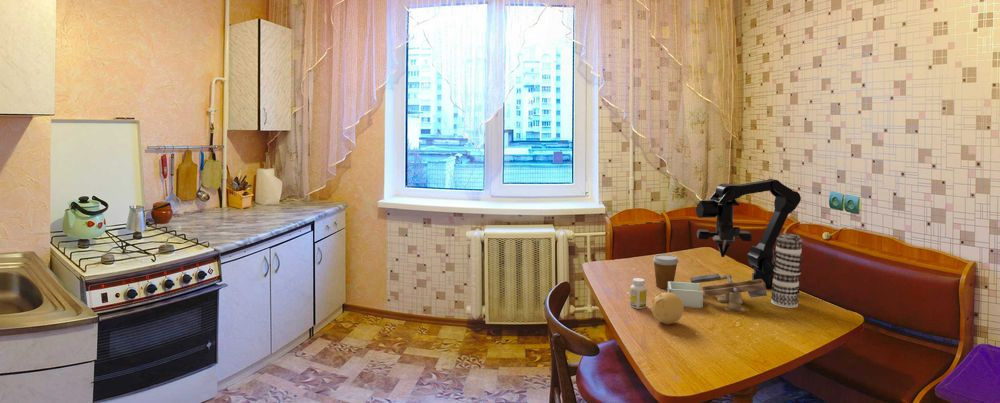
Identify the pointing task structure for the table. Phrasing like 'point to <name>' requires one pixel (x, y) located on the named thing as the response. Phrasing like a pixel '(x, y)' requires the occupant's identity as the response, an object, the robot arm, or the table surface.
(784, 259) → the decorative candle
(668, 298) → the stress ball
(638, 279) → the supplement bottle
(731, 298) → the fulcrum stand
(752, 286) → the lever
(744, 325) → the table surface
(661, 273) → the disposable coffee cup
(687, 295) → the white storage tray
